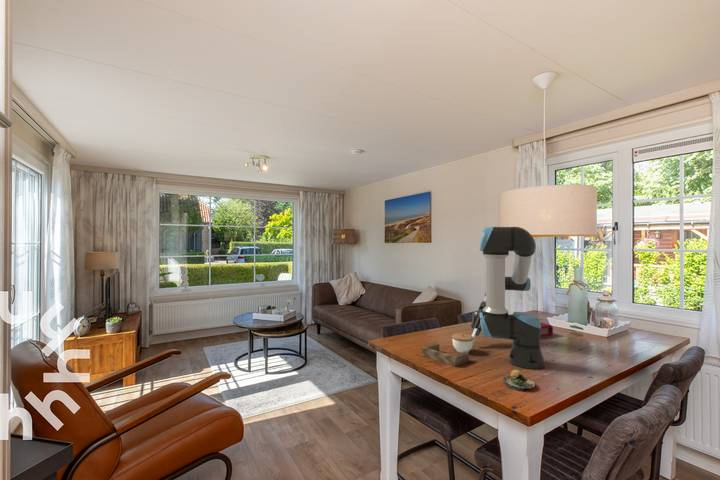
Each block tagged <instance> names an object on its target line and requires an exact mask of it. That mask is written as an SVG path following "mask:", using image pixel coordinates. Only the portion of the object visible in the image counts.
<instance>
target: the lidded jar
mask: <svg viewBox="0 0 720 480" xmlns="http://www.w3.org/2000/svg"><path fill="white" fill-rule="evenodd" d="M471 335H472V334H471ZM471 335H470V334H467V333H464V332H462V333H453V334H452V335H451V338H452V339H451V340H452V346H453V348H454V349H455V350H456V352H458V353H459V354H460V353H462V352H465V351H466V352H469V353H470V351H471V350H472V349H473V346H474V341H473V336H471Z"/></svg>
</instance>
